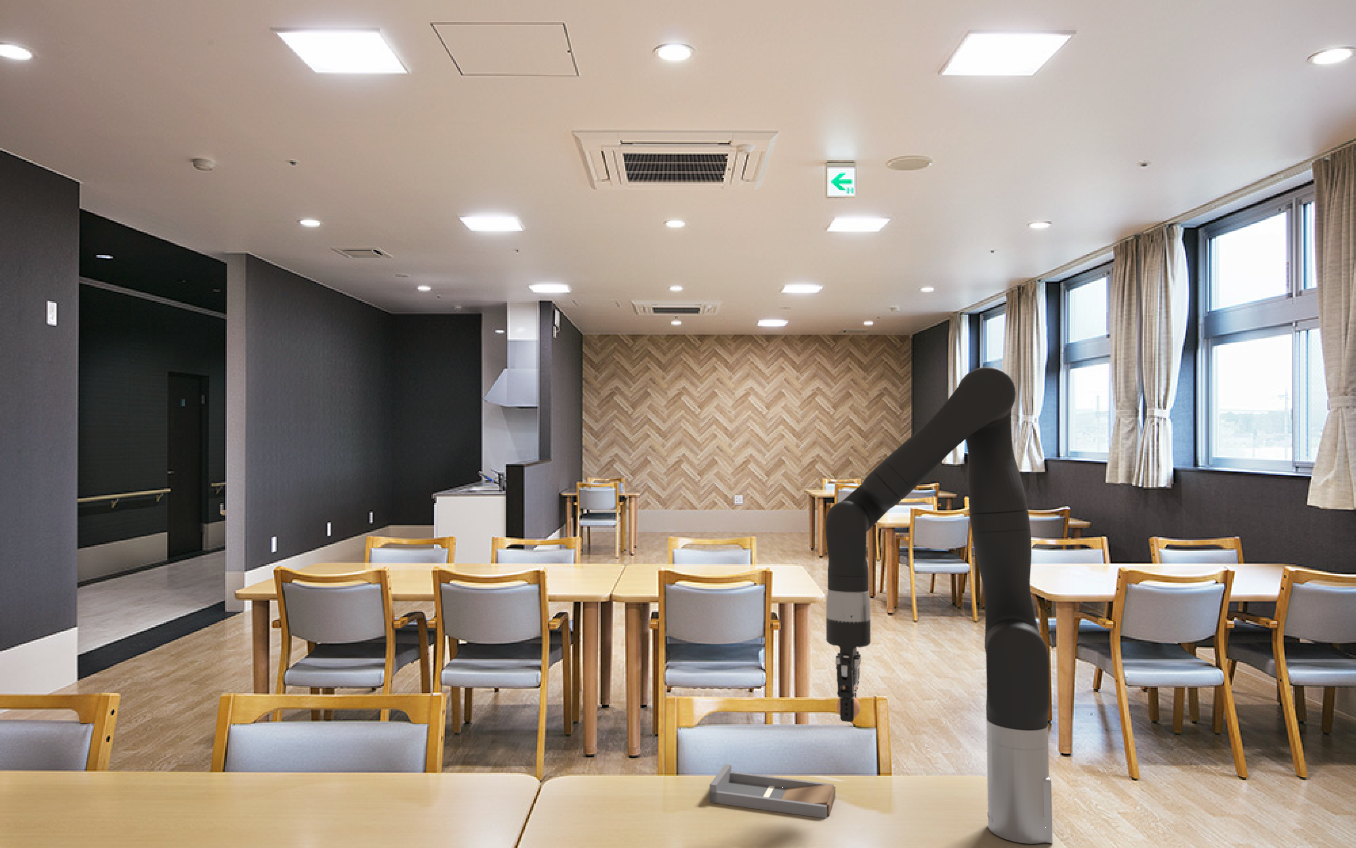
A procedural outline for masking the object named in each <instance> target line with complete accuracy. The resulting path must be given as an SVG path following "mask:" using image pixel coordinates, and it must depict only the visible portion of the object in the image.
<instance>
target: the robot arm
mask: <svg viewBox="0 0 1356 848" xmlns="http://www.w3.org/2000/svg"><path fill="white" fill-rule="evenodd" d="M1016 393H1017V391H1016V386H1015V382H1014V381H1013V379H1012V378H1011V376H1010V375H1009V374H1008V373H1006V371H1004V370H1002V369H999V368H997V367H993V366H981V367H978V368H976V369H975V368H974V369H973V370H971V371H969V372H968V373H967V374H965V375H964V376H963V378H962V379H961V380H960V381H959V384H958V386H957V388H955V390H954V391H953V392H952V394H951V395H950V396H949V398H948V399H947V400H946V401H945V403H944V404H943V405H942V407H940V409H939V410H938V411H937V412H936V413H935V414H934V415H933V416H932V417H931V418H930V419H929V420H928V421H927V422H926V423H925V424H924V425H923V426H921V428H919V430H917V431H916V432H915V433H914V434H913V435H911V437H909V438H908V439H907V440H906V441H904V443H902V444H900V446H898V447H897V448H896V449H895V450H894V451H893V452H891V453H890V454H889V455H888V456H887V457H886V458H885V459H884V460H883V461H881V463H879V464H878V465H877V466H876V467H875V468H874V469H873V470H872V471H870V473H868V475H867V476H866V477H865V478H864V480H863V482H862V483H861V484H860V485H859V486H858V487H857V488H856V489H854V490H853V491H852V492H850V493H849V494H848V495H847V496H846V497H845V498H844V499H843V500H841V501H839V502H837V503H835V504H833V505H832V506H831V507H830V509H828V512H827V513H826V517H825V539H826V550H827V557H828V558H827V559H828V563H827V565H828V566H827V596H826V604H825V605H826V607H825V608H826V611H825V612H826V614H825V618H826V619H825V621H826V623H825V626H826V627H825V629H826V631H825V632H826V635H825V636H826V638H825V640H826V642H827V643H828V644H829V645H832V646H837V647H838V648H839V652H837V655H835V666H836V667H835V669H836V682H837V692H836V694H837V697H838V699H839V698H840V714H839V716H840V717H839V719H840V721H842V722H846V723H852V722H853V721H854V719H855V718H854V697H855V698H856V699H857V692H858V690H859V687H858V686H859V684H860V681H859V680H860V676H861V671H860V666H861V663H862V662H861V661H862V657H861V654H860V652H859V651H858V649H857V648H865V647H869V645H870V644H871V599H870V589H869V588H870V586H869V583H870V582H869V579H870V578H869V577H870V576H869V574H870V573H869V565H868V564H869V563H868V561H867V533H868V531H870V529H872V527H874V525H876V523H878V522H879V521H880V520H881V519H882V517H884V515H886V513H887V512H888V511H889V510H890V509H892V508H894V507H895V506H896V505H898V504H899V503H900V502H902V500H904V499H905V498H906V497H907V496H908V495H909V494H910V493H911V492H913V491H914V490H915V489H916V488H917V487H918V486H919V485H920V484H921V483H922V482H923V481H924V480H925V479H926V478H927V477H928V476H930V474H931V473H932V472H933V471H934V470H935V469H936V468H937V467H938V465H940V463H942V462H943V460H944V459H946V457H947V456H948V455H950V453H951V452H952V451H954V450H955V449H956V448H957V447H958V446H960V444H962V443H963V442H964V441H965V442H966V449H967V456H968V457H967V458H968V459H967V460H968V468H967V471H968V473H967V487H968V488H967V492H968V493H967V494H968V495H967V496H968V512H969V519H970V522H969V523H970V529H971V537H972V542H973V546H974V547H973V548H974V553H975V558H976V561H977V562H976V563H977V566H978V569H979V575H980V577H981V582H982V586H983V593H984V594H983V595H984V608H985V609H984V611H985V614H984V616H985V617H984V618H985V619H984V620H985V621H984V622H985V624H984V626H985V629H984V631H985V632H984V635H985V636H984V651H985V664H986V665H985V666H986V667H985V669H986V702H985V707H986V708H985V711H986V713H985V715H986V716H985V717H986V718H985V719H986V720H985V721H986V724H985V725H986V767H987V768H986V774H987V775H986V778H987V779H986V781H987V783H986V784H987V785H986V786H987V827H988V830H989V832H991V833H992V834H994V835H995V836H997V837H999V838H1001V839H1004V840H1007V841H1010V842H1014V843H1018V844H1019V843H1021V844H1028V845H1029V844H1030V845H1033V844H1042V843H1048V844H1052V843H1053V842H1054V841H1053V802H1052V801H1053V799H1052V779H1051V778H1050V762H1049V760H1050V758H1049V757H1050V755H1049V711H1050V659H1049V658H1050V657H1049V650H1048V647H1047V645H1046V642H1045V641H1044V639H1043V638H1042V636H1041V633H1040V630H1039V627H1038V624H1037V619H1036V615H1035V609H1034V605H1033V604H1034V603H1033V600H1032V594H1031V567H1032V530H1031V523H1030V522H1031V521H1030V515H1029V505H1028V501H1027V495H1026V491H1025V487H1024V484H1023V481H1022V477H1021V473H1020V470H1019V467H1018V464H1017V461H1016V458H1015V452H1014V446H1013V434H1012V433H1013V431H1012V408H1013V406H1014V404H1015V401H1016V396H1017V394H1016ZM1045 827H1046V828H1045Z"/></svg>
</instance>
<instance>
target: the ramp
mask: <svg viewBox="0 0 1356 848" xmlns="http://www.w3.org/2000/svg"><path fill="white" fill-rule="evenodd" d="M830 784H831V785H820V786H809V787H798V788H788V789H786V791H785V793H784V795H783V797H782V799H784V800H791V801H799V802H806V803H814V804H822V805H827V816H828V817H830V814H831V812H832V809H833V807H834V806H833V805H834V803H835V801H836V800H835V799H836V786H835V785H834V786H833V784H834V783H830Z"/></svg>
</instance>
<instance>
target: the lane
mask: <svg viewBox="0 0 1356 848" xmlns="http://www.w3.org/2000/svg"><path fill="white" fill-rule="evenodd" d="M709 783H710V784H709V803H712V804H720V805H727V806H735V807H741V808H748V809H757V810H763V811H770V812H771V811H772V812H776V813H777V812H779V813H786V814H793V815H798V816H799V815H800V816H806V817H807V816H808V817H815V818H822V819H827V818H828V817H827V805H822V804H814V803H806V802H799V801H791V800H784V799H782V797H783V795H784V793H785V791H786V789H788V788H798V787H809V786H820V785H831V784H833V786H834V787H835V784H834V783H826V782H819V781H812V780H802V779H795V778H794V779H793V778H786V777H785V778H784V777H779V776H770V775H763V774H753V773H746V772H737V771H732V764H728V763H727V764H726V763H725V764H724V765H723V766H722V767H721V769H720V770H719V771H718V772H717V774H716V775H715V777H714V778H713V780H712V781H711V782H709ZM782 787H783V788H782Z"/></svg>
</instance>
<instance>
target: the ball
mask: <svg viewBox="0 0 1356 848" xmlns="http://www.w3.org/2000/svg"><path fill="white" fill-rule="evenodd" d="M836 710H837V713H838V714H839V715H840V698H839V697H838V700H837V702H836ZM860 712H861V704H860V701H859V699H858V698H857V697H856V698H855V697H854V719H855V718H857V716H859V714H860Z"/></svg>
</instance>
